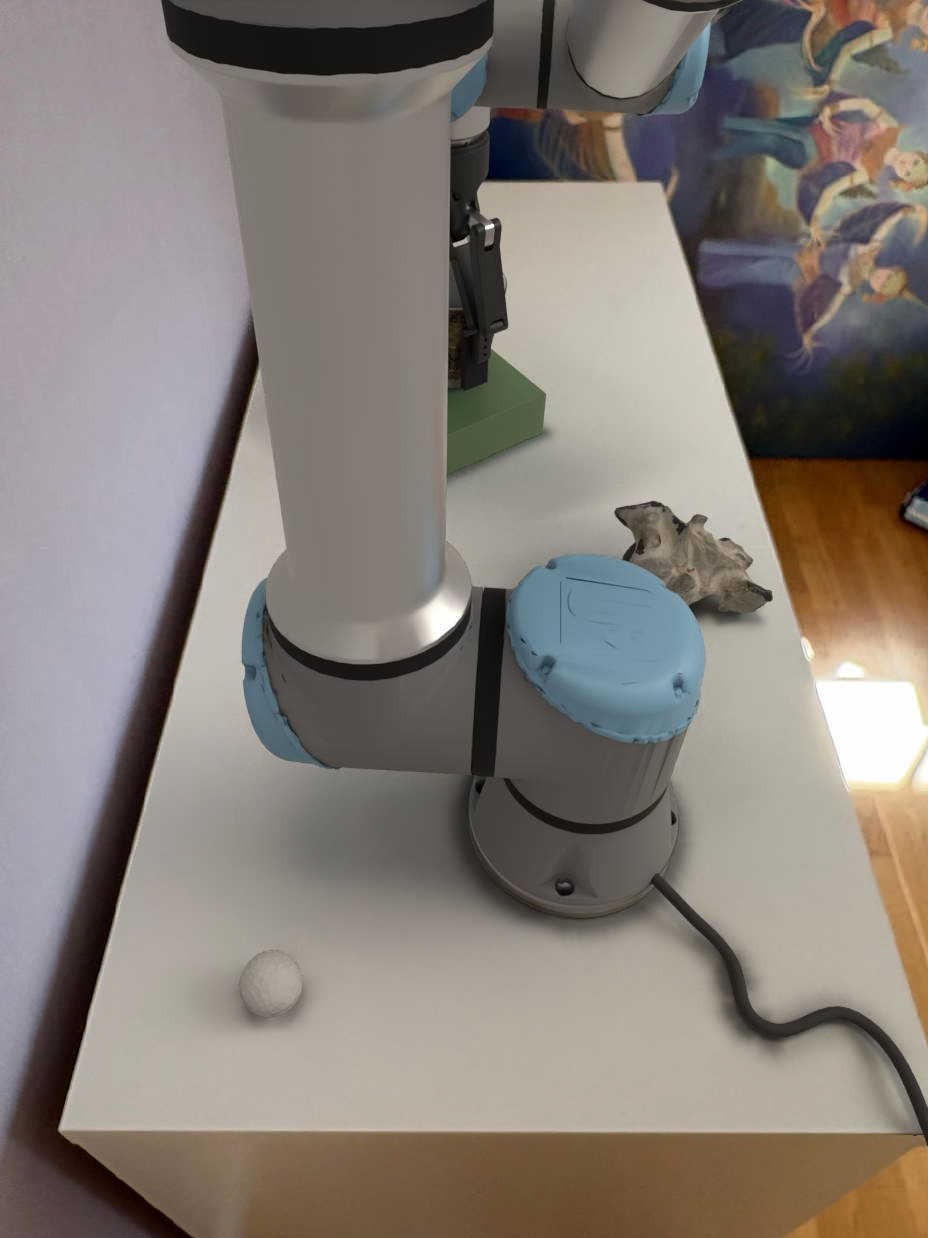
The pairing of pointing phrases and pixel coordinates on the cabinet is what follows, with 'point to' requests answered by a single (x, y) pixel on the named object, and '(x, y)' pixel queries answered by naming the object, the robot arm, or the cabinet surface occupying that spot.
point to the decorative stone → (691, 558)
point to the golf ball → (270, 983)
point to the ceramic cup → (456, 331)
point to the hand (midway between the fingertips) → (444, 358)
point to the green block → (492, 415)
